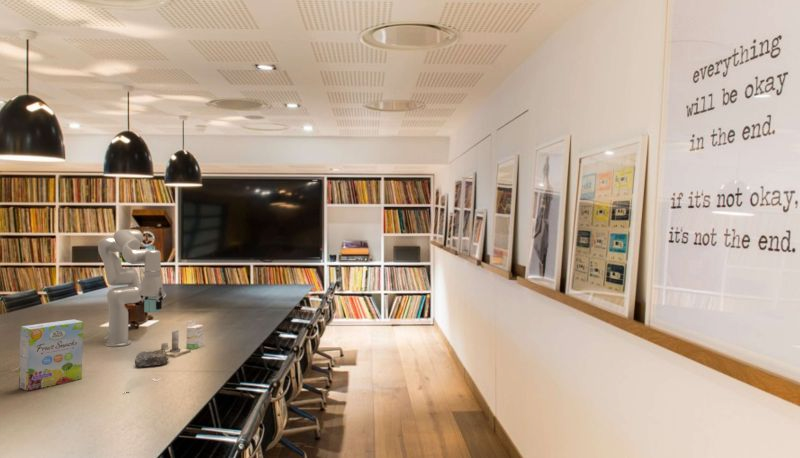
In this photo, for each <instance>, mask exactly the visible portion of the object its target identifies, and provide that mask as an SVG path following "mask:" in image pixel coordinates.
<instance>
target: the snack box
mask: <svg viewBox="0 0 800 458" xmlns="http://www.w3.org/2000/svg"><path fill="white" fill-rule="evenodd" d="M19 335H20V339H19V340H20V342H19V370H18V376H19V377H18V388H20V389H22V390H25V392H29V391H30V390H31V391H35V390H39V388H40V389H44V388H47V386H49V387H52V385H53V386H57V385H61V384H60V383H62V384H65V383H64V382H66V383H69V382H68V381H71V382H74V381H73V380H75V381H79V380H82V378H83V347H84V346H83V344H84V343H83V341H84V321H82V320H79V319H78V320H77V319H75V318H74V319H67V320H61V321H60V320H59V321H52V322H43V323H36V324H29V325H22V326H20V334H19ZM78 379H79V380H78ZM56 384H57V385H56ZM43 387H44V388H43ZM34 389H35V390H34ZM31 391H30V392H31Z"/></svg>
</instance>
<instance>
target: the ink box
mask: <svg viewBox="0 0 800 458" xmlns="http://www.w3.org/2000/svg"><path fill="white" fill-rule="evenodd" d="M196 322H197V320H196V319H192V320H187V323H186V347H185V349H190V350H196V349H198V348H199V349H200V348H201V347H203V346H204V345H203V343H204V340H203V339H204V325H203V324H196Z"/></svg>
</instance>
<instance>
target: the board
mask: <svg viewBox="0 0 800 458" xmlns="http://www.w3.org/2000/svg"><path fill="white" fill-rule="evenodd" d="M179 331H180V330H178V329H175V330H172V331H171V347H169V343H168V342H164V343H161V345H160V347H161V348H158V349H156V350H165V352H166V354H167V355H168V357H169V358H179V357H181V356H184V355H186V354H188V353H191V351H192V349H186V348H179V339H180V338H179V337H180V336H179V335H180V334H179ZM156 350H152V351H151V352H153V351H156Z"/></svg>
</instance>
